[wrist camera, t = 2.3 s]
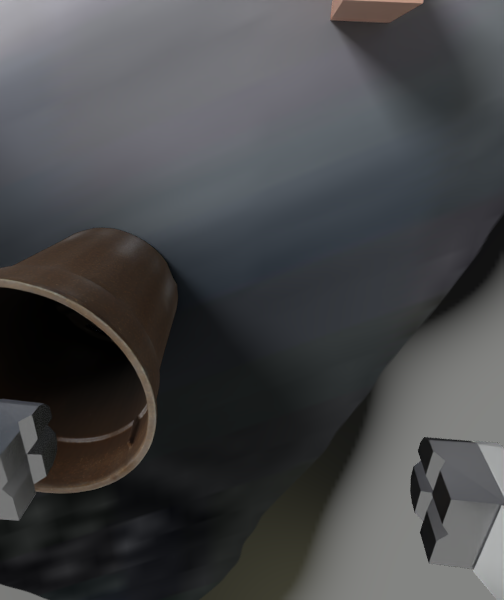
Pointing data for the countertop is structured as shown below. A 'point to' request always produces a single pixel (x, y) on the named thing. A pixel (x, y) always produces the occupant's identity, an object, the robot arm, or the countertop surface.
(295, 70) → the countertop surface
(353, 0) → the loose post
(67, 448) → the plant pot
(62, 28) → the countertop surface
